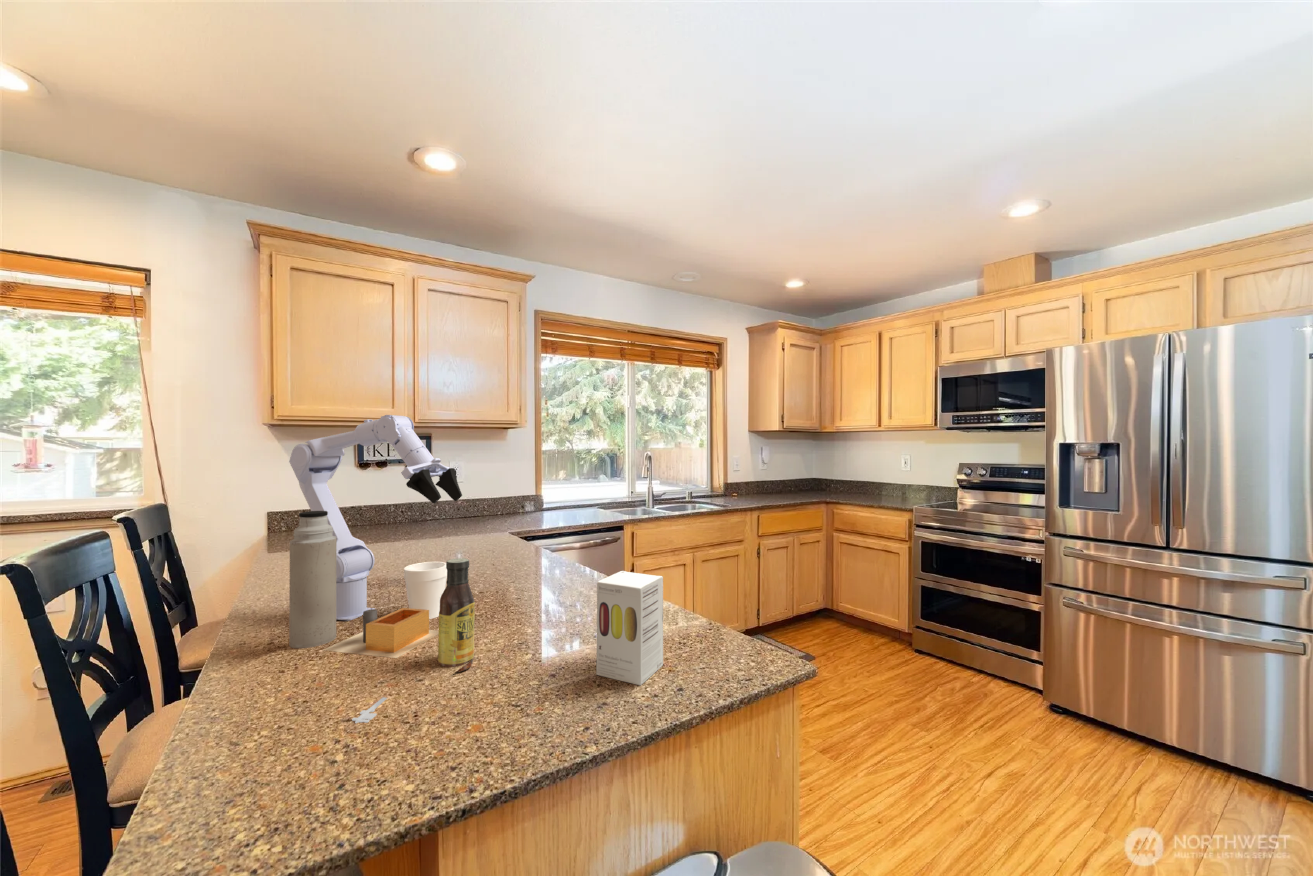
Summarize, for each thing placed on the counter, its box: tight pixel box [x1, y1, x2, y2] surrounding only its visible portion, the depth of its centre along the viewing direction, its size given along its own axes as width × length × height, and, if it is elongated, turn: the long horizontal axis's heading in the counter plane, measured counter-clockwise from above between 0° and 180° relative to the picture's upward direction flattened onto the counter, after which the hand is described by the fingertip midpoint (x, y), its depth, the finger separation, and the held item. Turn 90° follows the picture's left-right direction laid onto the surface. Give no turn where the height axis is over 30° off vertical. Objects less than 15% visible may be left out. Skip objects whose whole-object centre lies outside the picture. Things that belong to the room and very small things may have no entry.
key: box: [351, 697, 388, 724], centre depth 81 cm, size 12×1×3 cm
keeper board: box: [323, 608, 439, 659], centre depth 103 cm, size 17×14×8 cm
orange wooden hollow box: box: [366, 607, 430, 653], centre depth 102 cm, size 10×6×5 cm, turn 167°
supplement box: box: [595, 570, 664, 686], centre depth 92 cm, size 10×9×17 cm
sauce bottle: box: [437, 557, 476, 673], centre depth 94 cm, size 6×6×20 cm
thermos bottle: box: [288, 510, 337, 649], centre depth 103 cm, size 8×8×28 cm
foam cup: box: [403, 561, 447, 620], centre depth 118 cm, size 10×9×13 cm
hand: (448, 499), depth 115 cm, fingers open, 7 cm apart
